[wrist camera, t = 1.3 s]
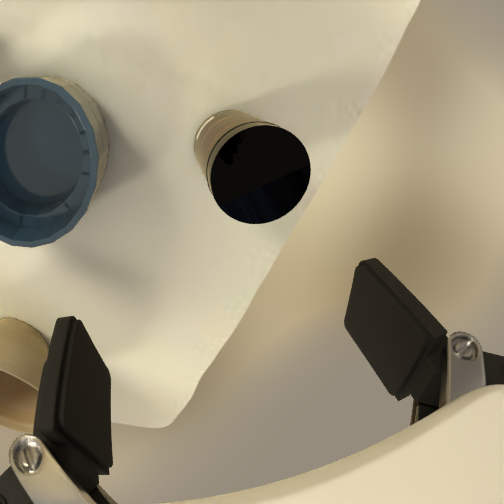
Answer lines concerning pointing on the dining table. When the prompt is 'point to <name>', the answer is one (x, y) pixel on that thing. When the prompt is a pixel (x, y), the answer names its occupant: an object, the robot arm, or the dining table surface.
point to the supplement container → (251, 166)
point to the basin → (47, 158)
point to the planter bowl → (20, 373)
